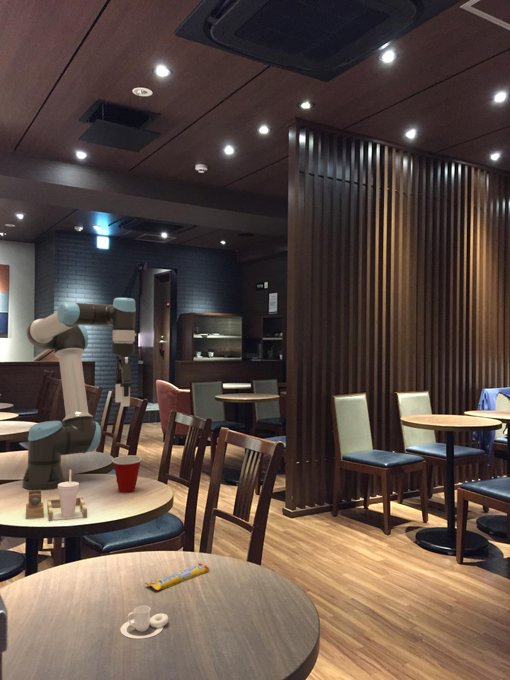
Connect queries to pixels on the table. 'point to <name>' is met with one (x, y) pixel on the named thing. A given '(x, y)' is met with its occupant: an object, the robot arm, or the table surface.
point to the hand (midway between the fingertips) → (122, 404)
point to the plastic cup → (127, 472)
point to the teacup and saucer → (144, 622)
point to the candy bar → (178, 577)
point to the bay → (56, 503)
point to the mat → (59, 517)
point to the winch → (34, 505)
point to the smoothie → (68, 497)
